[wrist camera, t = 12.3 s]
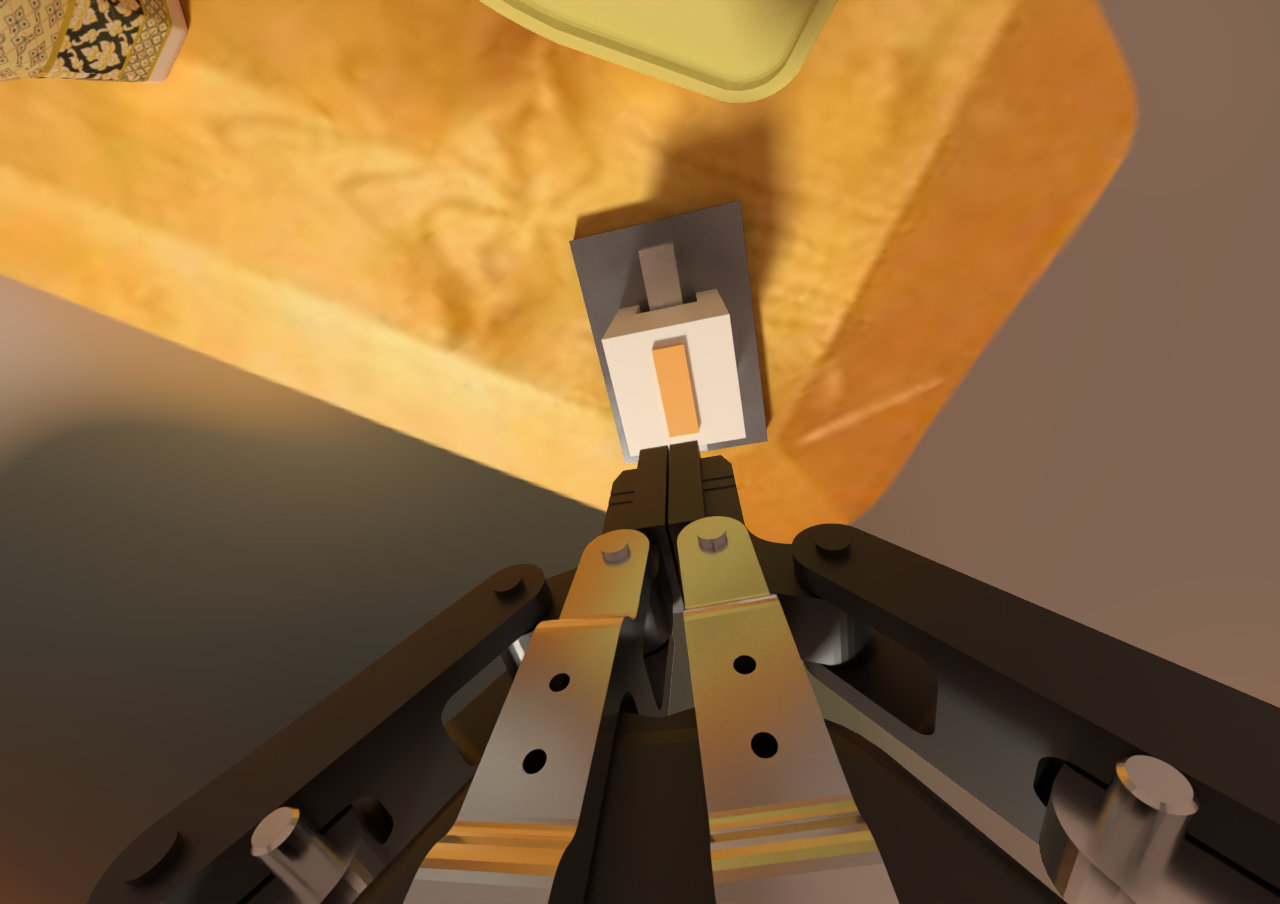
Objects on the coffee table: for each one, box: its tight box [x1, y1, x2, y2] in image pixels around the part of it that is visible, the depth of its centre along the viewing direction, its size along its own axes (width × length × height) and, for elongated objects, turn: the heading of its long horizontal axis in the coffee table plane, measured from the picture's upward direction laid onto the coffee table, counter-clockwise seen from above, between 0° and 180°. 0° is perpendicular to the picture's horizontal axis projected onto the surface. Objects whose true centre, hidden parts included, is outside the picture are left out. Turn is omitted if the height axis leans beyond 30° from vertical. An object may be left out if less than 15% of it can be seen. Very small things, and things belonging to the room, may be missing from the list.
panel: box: [569, 201, 768, 464], centre depth 25 cm, size 12×8×3 cm, turn 12°
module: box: [602, 289, 746, 457], centre depth 22 cm, size 5×5×7 cm
